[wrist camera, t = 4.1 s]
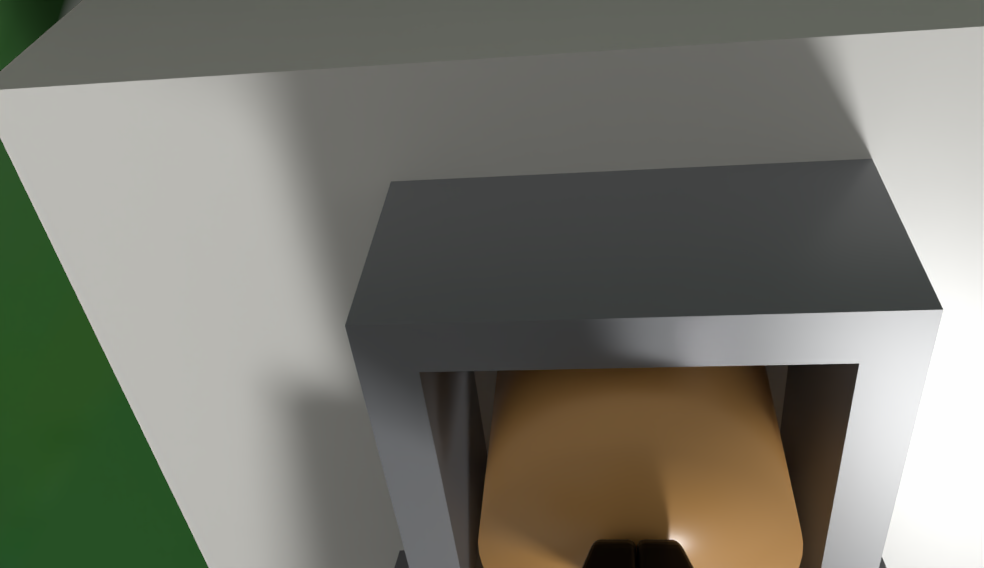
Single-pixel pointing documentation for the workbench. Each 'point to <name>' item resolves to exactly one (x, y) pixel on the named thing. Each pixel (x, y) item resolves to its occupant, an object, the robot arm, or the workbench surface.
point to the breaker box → (517, 246)
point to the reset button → (637, 467)
